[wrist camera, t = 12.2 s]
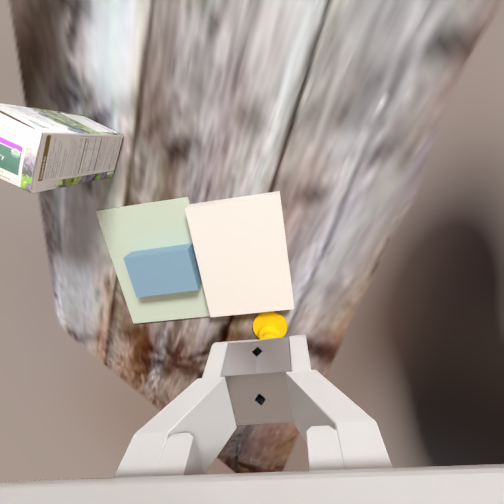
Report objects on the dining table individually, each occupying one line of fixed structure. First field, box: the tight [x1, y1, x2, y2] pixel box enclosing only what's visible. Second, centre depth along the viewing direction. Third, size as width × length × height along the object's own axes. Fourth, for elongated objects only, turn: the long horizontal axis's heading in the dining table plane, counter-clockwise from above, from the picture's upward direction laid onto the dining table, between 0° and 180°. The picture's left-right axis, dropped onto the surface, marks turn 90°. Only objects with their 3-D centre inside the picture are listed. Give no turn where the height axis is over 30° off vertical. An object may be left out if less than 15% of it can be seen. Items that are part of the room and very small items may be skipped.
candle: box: [253, 311, 287, 340], centre depth 39 cm, size 5×5×16 cm
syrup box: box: [0, 103, 123, 193], centre depth 32 cm, size 6×6×14 cm
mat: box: [95, 197, 210, 324], centre depth 43 cm, size 18×13×1 cm
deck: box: [185, 191, 294, 317], centre depth 41 cm, size 16×12×2 cm
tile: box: [123, 243, 202, 297], centre depth 42 cm, size 6×9×2 cm, turn 99°
